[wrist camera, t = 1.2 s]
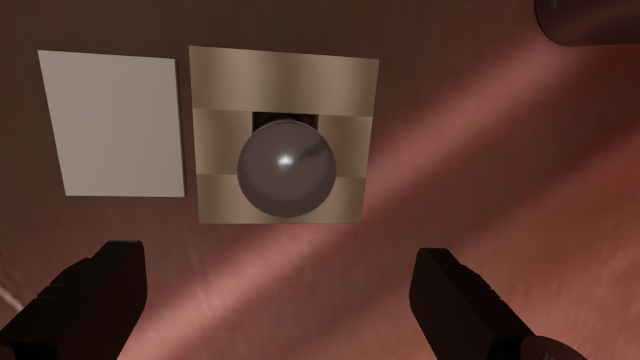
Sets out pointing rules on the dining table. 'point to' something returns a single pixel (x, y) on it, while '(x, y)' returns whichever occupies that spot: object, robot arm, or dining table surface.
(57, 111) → the mat
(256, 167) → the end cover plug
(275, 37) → the dining table surface
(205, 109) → the bore housing
